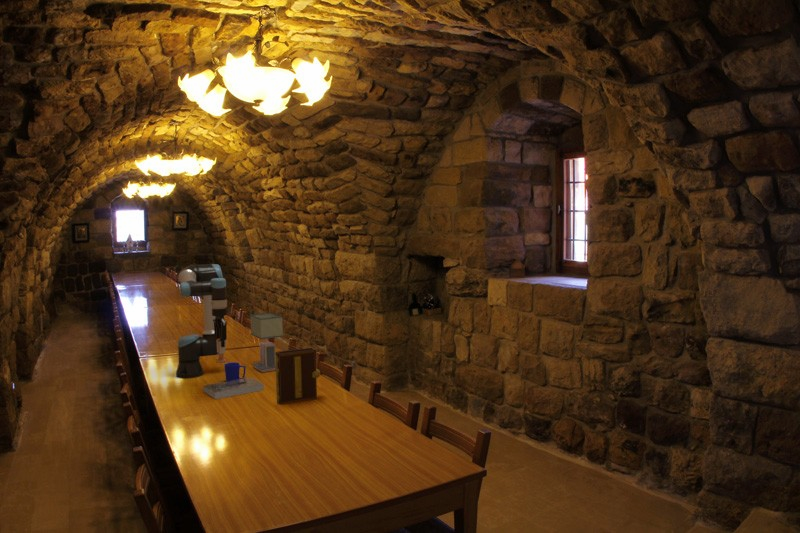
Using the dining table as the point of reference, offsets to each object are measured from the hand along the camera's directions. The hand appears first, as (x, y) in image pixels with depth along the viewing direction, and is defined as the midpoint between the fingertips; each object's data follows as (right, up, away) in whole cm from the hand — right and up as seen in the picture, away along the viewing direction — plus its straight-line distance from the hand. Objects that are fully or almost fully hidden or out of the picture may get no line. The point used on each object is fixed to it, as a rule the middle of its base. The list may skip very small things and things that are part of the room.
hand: (221, 352), depth 310 cm
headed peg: (0, -5, 0) cm, 5 cm away
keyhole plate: (+5, -21, +4) cm, 22 cm away
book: (+43, -22, -13) cm, 50 cm away
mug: (+1, -20, +23) cm, 30 cm away
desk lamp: (+13, -18, +52) cm, 56 cm away
